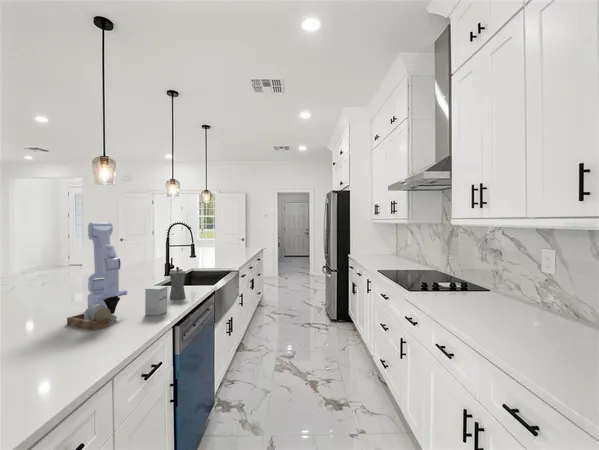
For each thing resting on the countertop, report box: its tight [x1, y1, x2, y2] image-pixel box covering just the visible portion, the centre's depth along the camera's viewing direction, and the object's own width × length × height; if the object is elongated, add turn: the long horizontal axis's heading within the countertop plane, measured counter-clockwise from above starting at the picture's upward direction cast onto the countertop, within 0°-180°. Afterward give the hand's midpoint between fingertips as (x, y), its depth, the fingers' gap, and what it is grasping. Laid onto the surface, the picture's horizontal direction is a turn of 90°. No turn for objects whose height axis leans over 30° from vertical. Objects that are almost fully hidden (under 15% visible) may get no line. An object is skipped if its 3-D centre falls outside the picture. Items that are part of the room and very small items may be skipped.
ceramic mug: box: [86, 304, 118, 322], centre depth 145 cm, size 11×8×8 cm
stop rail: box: [66, 313, 110, 331], centre depth 141 cm, size 18×6×3 cm, turn 66°
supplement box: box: [144, 285, 168, 316], centre depth 159 cm, size 7×7×13 cm
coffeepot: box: [169, 266, 186, 301], centre depth 192 cm, size 15×9×18 cm, turn 44°
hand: (111, 313), depth 151 cm, fingers closed
